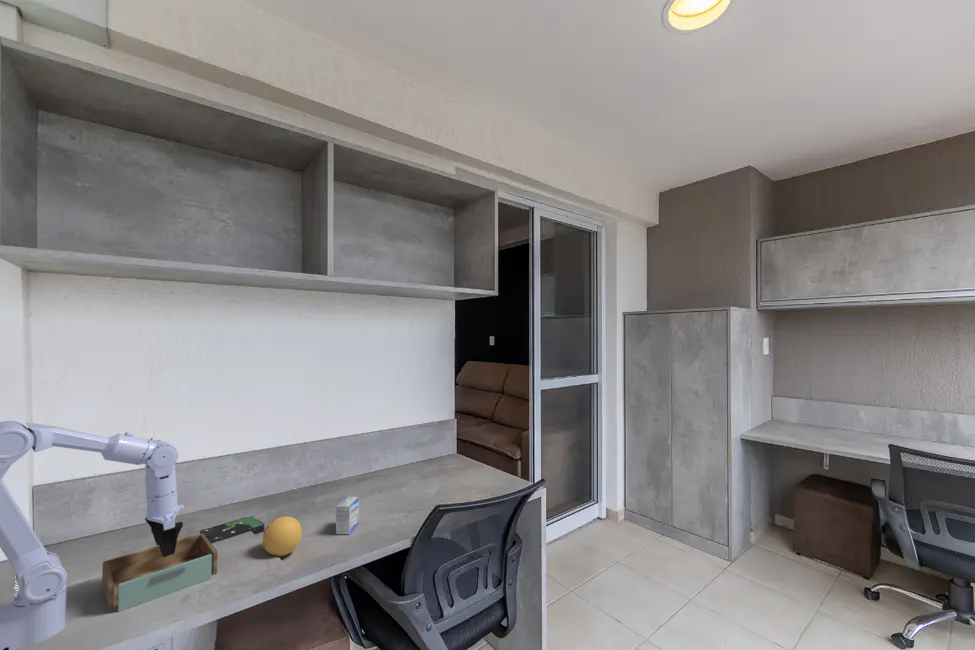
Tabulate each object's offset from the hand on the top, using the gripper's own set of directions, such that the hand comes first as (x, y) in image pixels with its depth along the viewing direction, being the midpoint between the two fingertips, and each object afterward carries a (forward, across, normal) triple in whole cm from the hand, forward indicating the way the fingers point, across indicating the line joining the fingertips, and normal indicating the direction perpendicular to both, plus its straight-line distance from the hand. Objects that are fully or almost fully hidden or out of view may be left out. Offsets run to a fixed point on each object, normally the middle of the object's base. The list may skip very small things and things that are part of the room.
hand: (165, 549), depth 99 cm
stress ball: (+12, -3, -25) cm, 28 cm away
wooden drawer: (+10, +3, +1) cm, 10 cm away
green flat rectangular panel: (+8, -5, +1) cm, 10 cm away
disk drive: (+12, +20, -19) cm, 30 cm away
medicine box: (+13, -2, -45) cm, 47 cm away
